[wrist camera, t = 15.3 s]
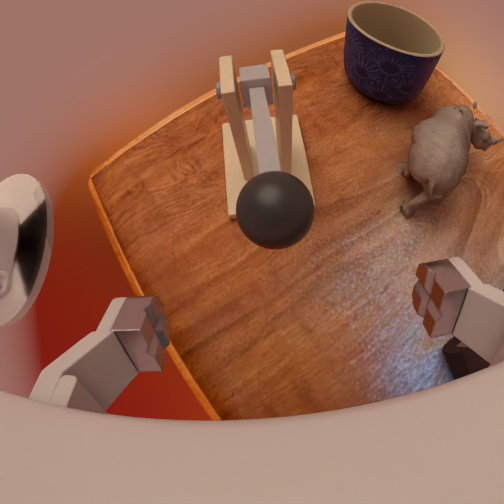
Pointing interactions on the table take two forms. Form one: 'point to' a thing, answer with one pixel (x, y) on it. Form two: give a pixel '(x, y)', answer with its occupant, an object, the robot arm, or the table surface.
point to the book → (463, 358)
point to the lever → (270, 177)
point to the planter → (389, 51)
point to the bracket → (242, 131)
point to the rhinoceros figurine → (442, 152)
